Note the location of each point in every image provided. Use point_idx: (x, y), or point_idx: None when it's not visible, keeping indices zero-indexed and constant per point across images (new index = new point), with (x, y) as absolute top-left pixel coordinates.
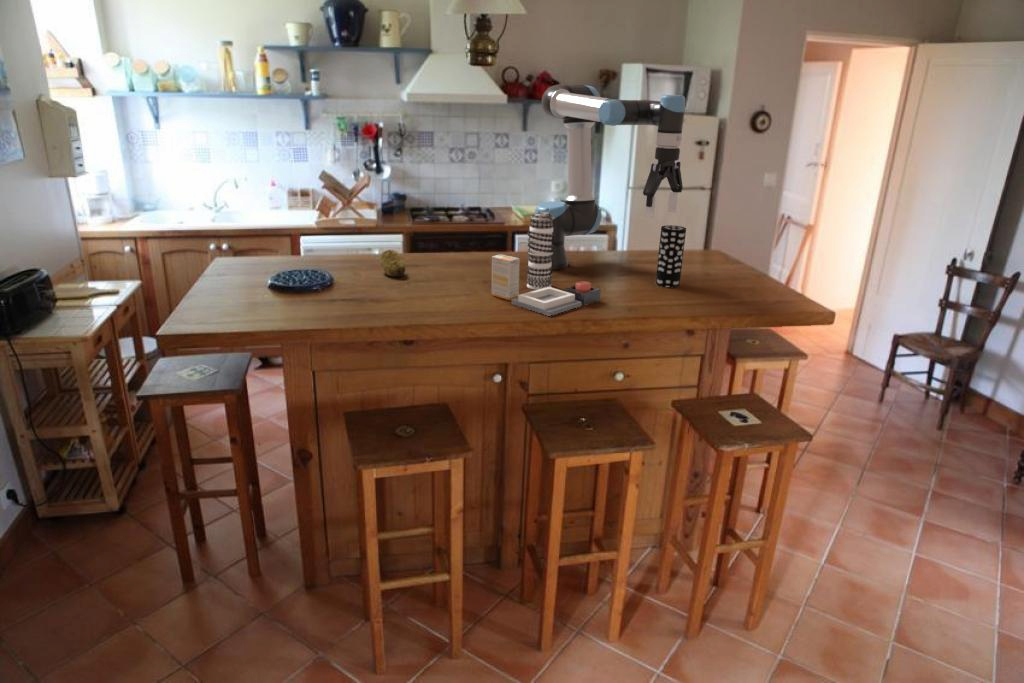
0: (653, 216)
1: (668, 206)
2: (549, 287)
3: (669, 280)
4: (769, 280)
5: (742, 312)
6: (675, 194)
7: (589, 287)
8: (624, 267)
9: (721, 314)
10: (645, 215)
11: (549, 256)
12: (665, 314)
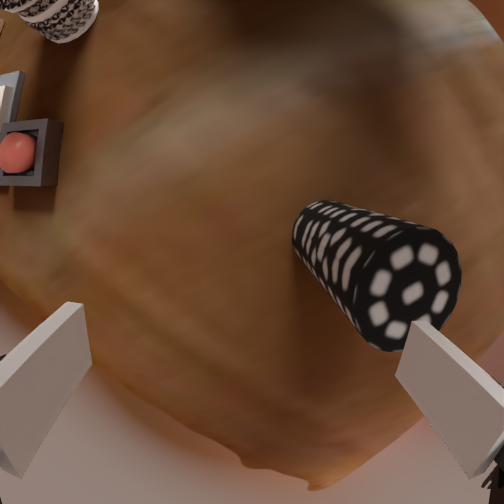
0: (87, 367)
1: (431, 344)
2: (1, 90)
3: (301, 259)
4: None
5: (228, 436)
6: (466, 460)
7: (15, 172)
8: (397, 64)
9: (184, 418)
10: (64, 307)
11: (29, 6)
12: (93, 343)
